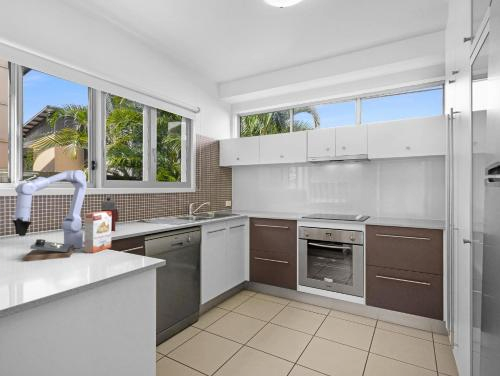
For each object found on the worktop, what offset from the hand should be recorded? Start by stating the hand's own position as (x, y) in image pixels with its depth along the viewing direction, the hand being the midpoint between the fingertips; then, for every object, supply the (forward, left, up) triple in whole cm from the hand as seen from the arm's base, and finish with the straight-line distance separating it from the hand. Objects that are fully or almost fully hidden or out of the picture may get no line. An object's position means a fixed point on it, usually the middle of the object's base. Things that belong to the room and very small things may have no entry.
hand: (20, 235), depth 134 cm
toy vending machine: (-38, -68, -11) cm, 79 cm away
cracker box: (-33, -2, -11) cm, 35 cm away
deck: (-13, +1, -7) cm, 15 cm away
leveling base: (-12, +1, -11) cm, 17 cm away
